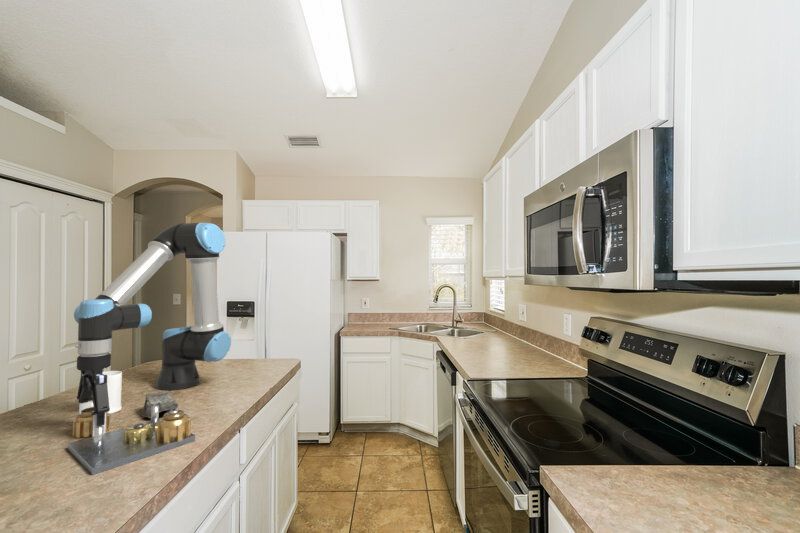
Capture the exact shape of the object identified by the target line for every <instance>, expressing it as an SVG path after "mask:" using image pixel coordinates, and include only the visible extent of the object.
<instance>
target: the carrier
mask: <svg viewBox="0 0 800 533" xmlns="http://www.w3.org/2000/svg"><path fill="white" fill-rule="evenodd" d="M159 413H160V412H159V405H154V406H152V407H151V418H150V420H149V421H146V422H142V423H135V424H132V425H131V426H127V427H125V428H120V429H119V428H118V429H116V430H112V431H109V432H108V431H107V432H105V433H104V426H98V427H95V428H94V436H93V437H92V436H89V437H85V438H82V439H78V440H75V441H72V442H71V441H70V442H68V443H67V450H68V451H69V452H70V453H71V454H72V455H73V456H74V457H75V458H76V459H77V461H78V462H79V463H80V464H81V465H82V466H83V467H84V468H85V469H86V470H87V471H88V472H89V473H90V474H91V475H92V476H93V475H97V474H100V473H103V472H105V471H109V470H111V469H115V468H117V467H121V466H123V465H126V464H130V463H133V462H135V461H139V460H142V459H145V458H148V457H151V456H153V455H156V454H160V453H162V452H167V451H170V450H172V449H174V448H178V447H181V446H184V445H187V444H190V443H193V442H195V441H196V434H193V433H192V430H191V429H192V418H191V417H190V416H189V414H187V413H185V411H184V410H181V409H175V410H172V411H168V412H167V411H166V412H165V413H164V414H163V416H162V417H160V418H159V415H160V414H159Z"/></svg>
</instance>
